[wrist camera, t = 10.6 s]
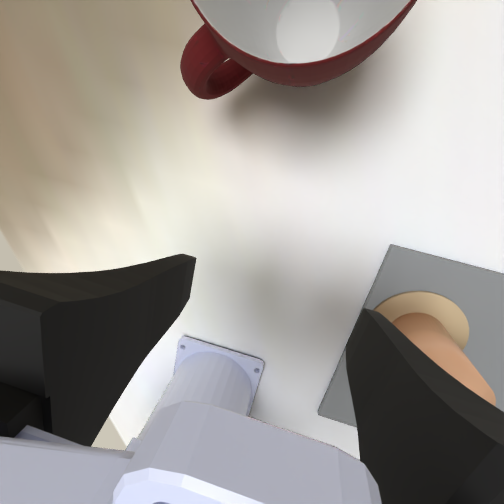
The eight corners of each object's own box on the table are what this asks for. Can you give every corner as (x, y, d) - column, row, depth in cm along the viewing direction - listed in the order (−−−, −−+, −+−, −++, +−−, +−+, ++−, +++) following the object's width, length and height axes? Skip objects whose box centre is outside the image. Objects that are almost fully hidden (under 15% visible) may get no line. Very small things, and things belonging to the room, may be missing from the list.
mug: (266, 162, 19) (229, 176, 10) (187, 63, 18) (64, -24, 9) (410, 35, 16) (556, -125, 7) (323, -101, 15) (351, -536, 5)
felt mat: (569, 491, 24) (573, 497, 24) (317, 411, 26) (317, 414, 26) (739, 335, 18) (748, 339, 17) (390, 244, 20) (392, 245, 19)
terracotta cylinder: (432, 363, 21) (475, 438, 16) (378, 350, 22) (402, 418, 16) (454, 320, 20) (510, 385, 14) (396, 306, 20) (429, 365, 15)
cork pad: (439, 379, 22) (441, 383, 22) (351, 353, 23) (352, 357, 23) (485, 306, 20) (489, 309, 19) (385, 279, 20) (386, 281, 20)
